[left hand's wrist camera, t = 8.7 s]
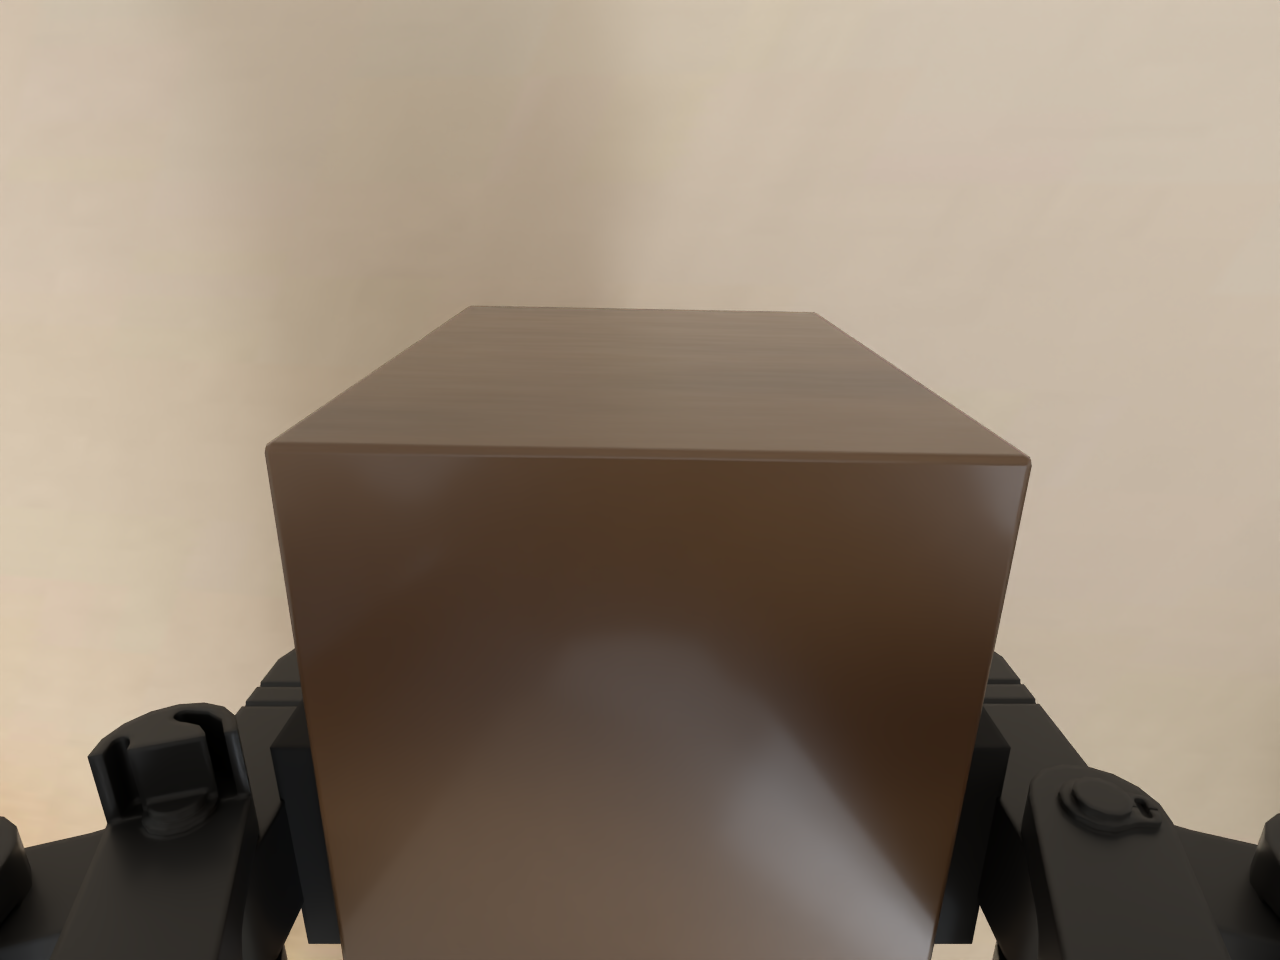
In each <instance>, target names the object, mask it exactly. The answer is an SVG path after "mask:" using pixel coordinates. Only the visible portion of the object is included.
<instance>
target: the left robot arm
mask: <svg viewBox="0 0 1280 960" xmlns="http://www.w3.org/2000/svg"><path fill="white" fill-rule="evenodd" d="M88 760H89V763H90V767H91V770H92V773H93V777H94V780H95V783H96V787H97V790H98V794H99V797H100V800H101V804H102V807H103V810H104V814H105V817H106V821H107V826H106V828H105V829H103V830H100V831H96V832H93V833H89V834H85V835H80V836H76V837H72V838H67V839H63V840H58V841H54V842H49V843H45V844H40V845H36V846H32V847H27V848H24V847H23V844H22V841H21V838H20V835H19V832H18V829H17V827H16V826H15V825H14V824H13V823H11V822H10V821H9V820H7V819H6V818H5V817H1V816H0V960H287V955H286V950H285V946H284V943H285V941H286V939H287V937H288V935H289V933H290V930H291V928H292V926H293V924H294V922H295V920H296V918H297V916H298V914H299V912H300V909H301V908H302V913H303V918H304V923H305V928H306V933H307V938H308V943H309V944H341V941H340V934H339V928H338V921H337V915H336V909H335V902H334V896H333V889H332V883H331V876H330V870H329V863H328V857H327V850H326V844H325V838H324V831H323V825H322V818H321V812H320V805H319V799H318V792H317V786H316V779H315V773H314V767H313V760H312V754H311V747H310V741H309V734H308V728H307V721H306V715H305V708H304V702H303V695H302V689H301V683H300V676H299V670H298V663H297V657H296V650H295V649H293V650H292V651H290V652H289V653H287V654H286V655H284V656H283V657H281V658H280V659H279V660H278V661H277V662H276V663H275V665H274V666H273V667H272V669H271V670H270V671H269V672H268V674H267V675H266V676H265V678H264V679H263V680H262V681H261V686H260V687H257V688H256V689H255V690H254V692H253V693H252V694H251V696H250V697H249V698H248V699H247V701H246V706H245V707H241V708H240V710H239V711H238V712H237V714H236V715H234V714H232V713H231V712H230V711H229V710H227V709H226V708H225V707H223V706H218V705H213V704H208V703H192V704H178V705H175V706H171V707H167V708H163V709H159V710H155V711H151V712H149V713H147V714H145V715H142V716H140V717H138V718H136V719H133V720H131V721H129V722H127V723H125V724H123V725H122V726H120V727H119V728H117V729H116V730H114V731H113V732H112V733H110V734H109V735H107V736H106V737H104V738H103V739H102V740H101V741H100V742H99V743H98V745H97V746H96V747H95V748H94V749H93V751H92V752H91V753H90V754H89V756H88ZM979 906H980V907H981V909H982V911H983V913H984V915H985V917H986V919H987V921H988V923H989V925H990V928H991V930H992V932H993V934H994V936H995V938H996V940H997V941H996V946H995V950H994V955H993V960H1280V813H1279V814H1277V815H1275V816H1274V817H1273V818H1271V819H1270V820H1269V821H1268V822H1266V823H1265V826H1264V829H1263V832H1262V834H1261V837H1260V840H1259V843H1258V845H1255V844H1251V843H1246V842H1242V841H1237V840H1233V839H1228V838H1224V837H1219V836H1215V835H1211V834H1206V833H1202V832H1197V831H1193V830H1189V829H1186V828H1182V827H1179V826H1175V825H1174V824H1173V822H1172V821H1171V820H1170V818H1169V817H1168V815H1167V814H1166V812H1165V811H1164V810H1163V808H1162V807H1161V805H1160V804H1159V803H1158V802H1156V801H1155V800H1154V799H1153V798H1151V797H1150V796H1149V795H1148V794H1146V793H1145V792H1144V791H1143V790H1141V789H1140V788H1139V787H1137V786H1135V785H1133V784H1131V783H1129V782H1127V781H1125V780H1124V779H1122V778H1120V777H1118V776H1116V775H1114V774H1111V773H1108V772H1104V771H1101V770H1097V769H1094V768H1090V767H1088V766H1087V764H1086V763H1085V762H1084V761H1083V759H1082V758H1081V757H1080V755H1079V754H1078V753H1077V752H1076V750H1075V749H1074V748H1073V746H1072V745H1071V744H1070V743H1069V741H1068V740H1067V739H1066V738H1065V736H1064V735H1063V734H1062V732H1061V731H1060V730H1059V729H1058V727H1057V726H1056V725H1055V724H1054V722H1053V721H1052V720H1051V718H1050V717H1049V716H1048V715H1047V713H1046V712H1045V711H1044V709H1043V708H1042V707H1041V706H1040V704H1036V703H1035V698H1034V697H1033V695H1032V694H1031V693H1030V692H1029V690H1028V689H1027V688H1026V686H1025V685H1024V684H1021V683H1020V679H1019V678H1018V676H1017V675H1016V674H1015V672H1014V671H1013V670H1012V669H1011V667H1010V666H1009V665H1008V663H1007V662H1006V661H1005V660H1004V658H1003V657H1002V656H1000V655H999V654H997V653H996V652H994V653H993V657H992V662H991V667H990V672H989V677H988V682H987V687H986V692H985V697H984V702H983V706H982V711H981V716H980V721H979V726H978V731H977V736H976V741H975V746H974V751H973V756H972V760H971V765H970V770H969V775H968V780H967V785H966V790H965V795H964V800H963V805H962V809H961V814H960V819H959V824H958V829H957V834H956V839H955V844H954V849H953V854H952V858H951V863H950V868H949V873H948V878H947V883H946V888H945V893H944V898H943V903H942V908H941V912H940V917H939V922H938V927H937V932H936V937H935V942H934V944H972V941H973V936H974V931H975V926H976V921H977V916H978V911H979Z"/></svg>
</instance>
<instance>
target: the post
mask: <svg viewBox="0 0 1280 960" xmlns="http://www.w3.org/2000/svg"><path fill="white" fill-rule="evenodd" d="M265 457H266V463H267V470H268V476H269V482H270V489H271V495H272V502H273V508H274V515H275V521H276V528H277V534H278V541H279V547H280V553H281V560H282V566H283V573H284V579H285V586H286V592H287V599H288V605H289V612H290V618H291V624H292V631H293V637H294V644H295V650H296V657H297V663H298V670H299V676H300V683H301V689H302V695H303V702H304V708H305V715H306V721H307V728H308V734H309V741H310V747H311V754H312V760H313V767H314V773H315V779H316V786H317V792H318V799H319V805H320V812H321V818H322V825H323V831H324V838H325V844H326V850H327V857H328V863H329V870H330V876H331V883H332V889H333V896H334V902H335V909H336V915H337V921H338V928H339V934H340V941H341V947H342V954H343V960H931V957H932V952H933V947H934V942H935V937H936V932H937V927H938V922H939V917H940V912H941V908H942V903H943V898H944V893H945V888H946V883H947V878H948V873H949V868H950V863H951V858H952V854H953V849H954V844H955V839H956V834H957V829H958V824H959V819H960V814H961V809H962V805H963V800H964V795H965V790H966V785H967V780H968V775H969V770H970V765H971V760H972V756H973V751H974V746H975V741H976V736H977V731H978V726H979V721H980V716H981V711H982V706H983V702H984V697H985V692H986V687H987V682H988V677H989V672H990V667H991V662H992V657H993V653H994V648H995V643H996V638H997V633H998V628H999V623H1000V618H1001V613H1002V608H1003V603H1004V599H1005V594H1006V589H1007V584H1008V579H1009V574H1010V569H1011V564H1012V559H1013V554H1014V550H1015V545H1016V540H1017V535H1018V530H1019V525H1020V520H1021V515H1022V510H1023V505H1024V501H1025V496H1026V491H1027V486H1028V481H1029V476H1030V471H1031V466H1032V465H1031V459H1030V457H1029V456H1027V455H1026V454H1024V453H1023V452H1021V451H1020V450H1019V449H1017V448H1016V447H1014V446H1013V445H1011V444H1010V443H1008V442H1007V441H1005V440H1004V439H1002V438H1001V437H999V436H998V435H996V434H995V433H993V432H992V431H990V430H989V429H987V428H986V427H984V426H983V425H981V424H980V423H978V422H977V421H975V420H974V419H973V418H971V417H970V416H968V415H967V414H965V413H964V412H962V411H961V410H959V409H958V408H956V407H955V406H953V405H952V404H950V403H949V402H947V401H946V400H944V399H943V398H941V397H940V396H938V395H937V394H935V393H934V392H932V391H931V390H930V389H928V388H927V387H925V386H924V385H922V384H921V383H919V382H918V381H916V380H915V379H913V378H912V377H910V376H909V375H907V374H906V373H904V372H903V371H901V370H900V369H898V368H897V367H895V366H894V365H892V364H891V363H889V362H888V361H886V360H885V359H884V358H882V357H881V356H879V355H878V354H876V353H875V352H873V351H872V350H870V349H869V348H867V347H866V346H864V345H863V344H861V343H860V342H858V341H857V340H855V339H854V338H852V337H851V336H849V335H848V334H846V333H845V332H843V331H842V330H841V329H839V328H838V327H836V326H835V325H833V324H832V323H830V322H829V321H827V320H826V319H824V318H823V317H821V316H820V315H818V314H817V313H814V312H769V311H716V310H663V309H610V308H557V307H504V306H470V307H468V308H466V309H465V310H463V311H462V312H460V313H459V314H457V315H456V316H454V317H453V318H452V319H450V320H449V321H447V322H446V323H444V324H443V325H441V326H440V327H438V328H437V329H435V330H434V331H432V332H431V333H429V334H428V335H427V336H425V337H424V338H422V339H421V340H419V341H418V342H416V343H415V344H413V345H412V346H410V347H409V348H407V349H406V350H405V351H403V352H402V353H400V354H399V355H397V356H396V357H394V358H393V359H391V360H390V361H388V362H387V363H385V364H384V365H382V366H381V367H380V368H378V369H377V370H375V371H374V372H372V373H371V374H369V375H368V376H366V377H365V378H363V379H362V380H360V381H359V382H357V383H356V384H355V385H353V386H352V387H350V388H349V389H347V390H346V391H344V392H343V393H341V394H340V395H338V396H337V397H335V398H334V399H332V400H331V401H330V402H328V403H327V404H325V405H324V406H322V407H321V408H319V409H318V410H316V411H315V412H313V413H312V414H310V415H309V416H307V417H306V418H305V419H303V420H302V421H300V422H299V423H297V424H296V425H294V426H293V427H291V428H290V429H288V430H287V431H285V432H284V433H282V434H281V435H280V436H278V437H277V438H275V439H274V440H272V441H271V442H269V443H268V444H267V445H266V449H265Z"/></svg>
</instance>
